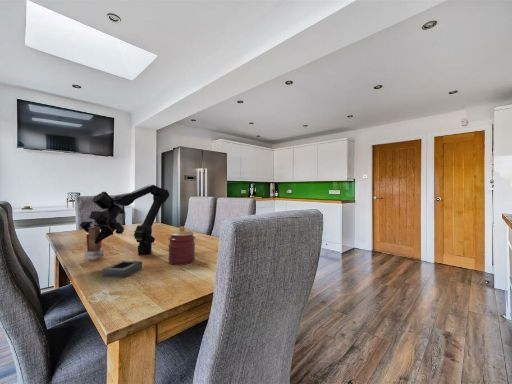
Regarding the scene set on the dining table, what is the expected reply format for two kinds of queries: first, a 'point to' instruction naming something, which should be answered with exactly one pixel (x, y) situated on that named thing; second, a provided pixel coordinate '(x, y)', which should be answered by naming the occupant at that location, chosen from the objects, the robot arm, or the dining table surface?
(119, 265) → the holder block
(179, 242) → the canister
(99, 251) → the slot cleaner tool
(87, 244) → the paper cup
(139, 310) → the dining table surface
